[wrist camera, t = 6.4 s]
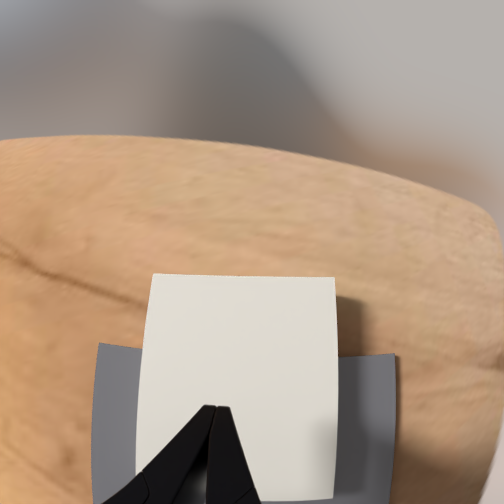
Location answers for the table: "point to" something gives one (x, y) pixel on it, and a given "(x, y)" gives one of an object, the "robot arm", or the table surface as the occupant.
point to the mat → (344, 500)
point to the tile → (246, 373)
